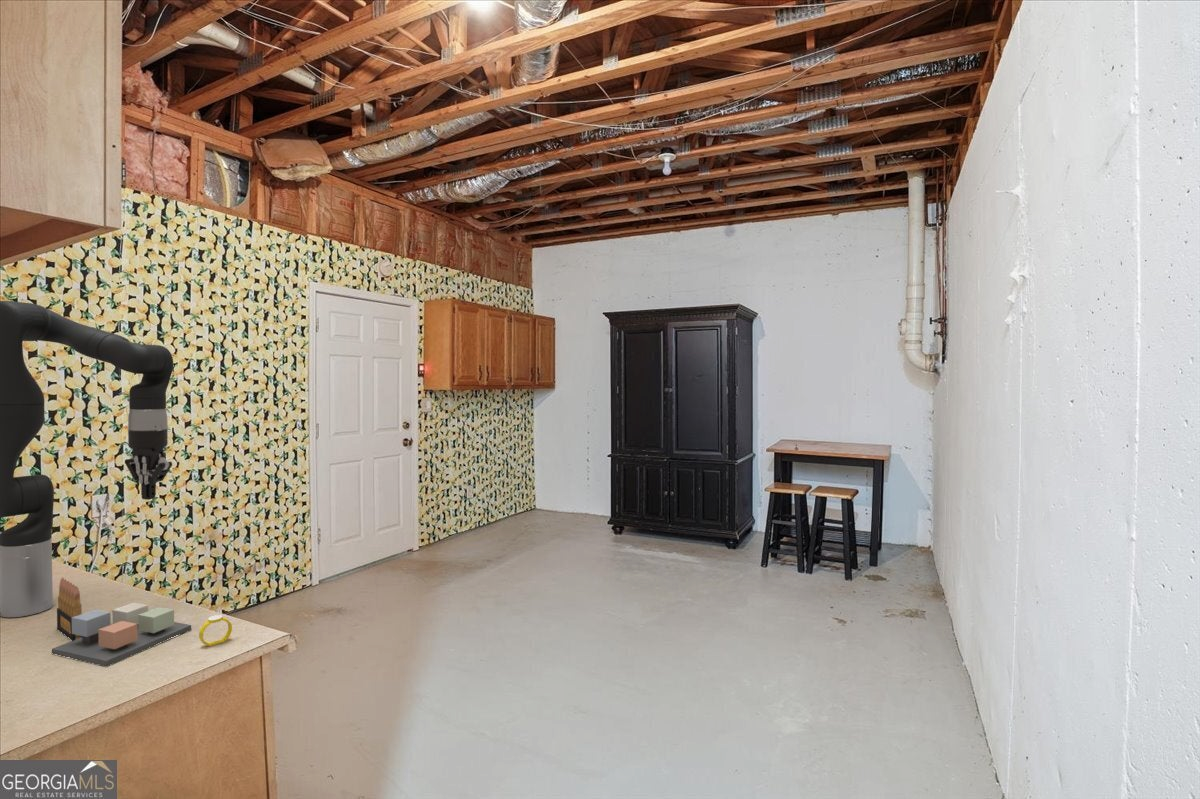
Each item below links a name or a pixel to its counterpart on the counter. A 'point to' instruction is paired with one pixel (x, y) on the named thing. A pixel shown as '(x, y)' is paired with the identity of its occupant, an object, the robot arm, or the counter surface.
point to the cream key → (128, 613)
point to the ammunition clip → (68, 608)
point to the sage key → (156, 620)
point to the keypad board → (117, 654)
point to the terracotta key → (118, 634)
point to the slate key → (90, 622)
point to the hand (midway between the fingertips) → (148, 498)
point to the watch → (213, 620)
